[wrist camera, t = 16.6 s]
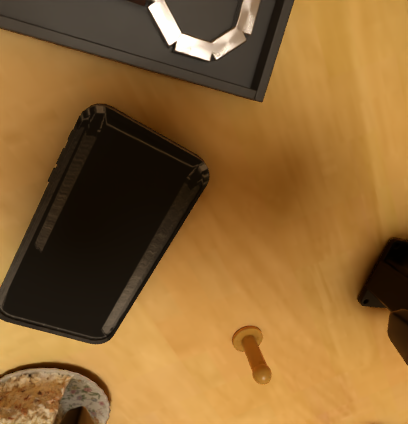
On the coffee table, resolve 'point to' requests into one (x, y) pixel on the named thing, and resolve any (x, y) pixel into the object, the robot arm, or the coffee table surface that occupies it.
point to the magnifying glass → (198, 46)
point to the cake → (49, 397)
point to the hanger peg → (253, 352)
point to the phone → (100, 227)
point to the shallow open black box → (158, 37)
